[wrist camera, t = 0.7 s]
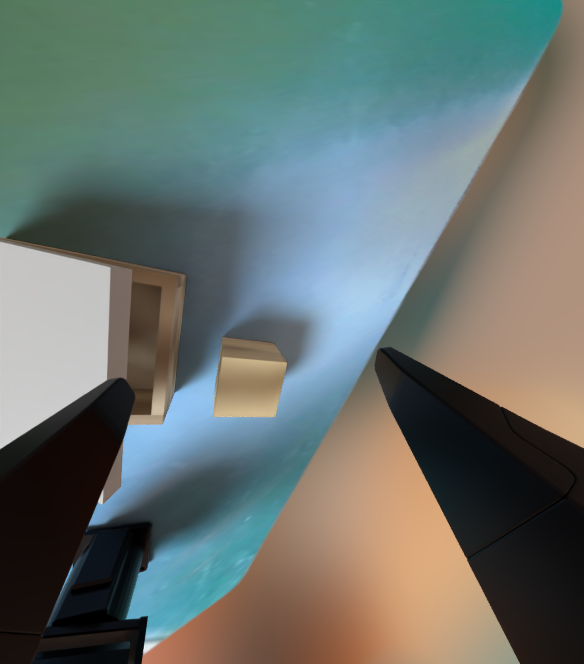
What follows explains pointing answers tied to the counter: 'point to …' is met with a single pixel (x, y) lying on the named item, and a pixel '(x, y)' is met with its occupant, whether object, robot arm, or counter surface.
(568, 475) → the robot arm
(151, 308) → the crate
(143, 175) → the counter surface
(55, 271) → the lid
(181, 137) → the counter surface
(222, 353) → the block
